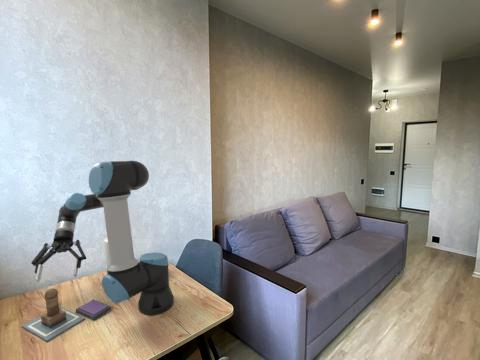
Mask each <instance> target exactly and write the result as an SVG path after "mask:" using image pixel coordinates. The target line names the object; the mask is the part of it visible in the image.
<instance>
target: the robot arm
mask: <svg viewBox="0 0 480 360" xmlns="http://www.w3.org/2000/svg"><path fill="white" fill-rule="evenodd" d="M149 178H150V173H149V170H148V168H147V167H146V166H145V164H143V163H142V162H140V161H137V160H120V161H119V160H117V161H103V162H98V163H95V164H93V166H92V167H91V169H90V170H89V173H88V187H89V189H90V191H91V193H92V194H85V195H84V194H83V193H79V192H73V193H71V194H69V196H68V197H67V198H66V200H65V202H64V203H62V204H61V205H60V207H59V210H58V217H57V222H56V227H55V231H54V237H53V242H52V243H48V242H46V243H44V244H43V247H42V249H41V250H40V251H39V252H38V253H37V255H36V256H35V257H34V258H33V260H32V261H31V262H30V264H31V265H32V266H33V267H35V269H34V274H36V275H35V281H36V282H37V283H40V282H41V277H42V273H43V268H44V266H43V264H45V263H46V262H47V261H48V260H49V259H50V258H52V257H53V256H54V255H56V254H60V253H67V251H68V252H69V253H70V254H71V255H72V256H73V257H74V258H75V260H74V268H73V272H72V273H73V277H77V276H78V270H79V269H81V266H82V261H83V260H87V256H86V254H85V252H84V250H83V248H82V247H81V241H80V240H79V239H76V240H75V241H74V236H75V230H76V229H75V228H76V222H77V218H78V216H79V214H80V213H81V212H85V211H90V210H95V209H102V208H103V214H104V221H105V222H104V223H105V229H106V238H108V246H109V254H110V262H111V263H110V265H109V266H108V267H107V275H106V274H105V275H104V276H103V277H102V279H101V286H102V289H103V292H104V293H105V295H106V298H108V300H110V301H111V302H112V303H114V304H120V303H122V302H124V301H128V300H130V299H131V298H133V297H134V296H136V295H139V294H140V296H139V299H138V301H137V302H138V303H137V304H138V305H137V306H138V311H139V312H140V314H142V315H146V316H152V315H153V316H154V315H155V316H156V315H160V314H163V313H165V312H167V311H168V310H169V309H171V308H172V307H173V305H174V303H175V299H174V298H175V297H174V294H173V292H172V290H171V287H170V280H169V278H170V277H169V276H170V275H169V273H170V272H169V258H168V255H166V254H164V253H162V252H148V253H144V254H141V255H140V256H139V260H138V259H137V258H135V252H134V245H133V236H132V235H133V234H132V227H131V219H130V212H129V204H128V202H129V201H128V198H130V196H131V195H132V193H131V192H132V191H137V190H139V189H141V188H142V187H144V186H145V185H147V183H148V181H149ZM73 246H75V247H77V250H78V251H79V254H80V255H81V256H80V255H79V254H78V253H77V252H76V251H75V250H73V249H72V247H73ZM51 247H52V248H51Z"/></svg>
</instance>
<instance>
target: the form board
mask: <svg viewBox="0 0 480 360" xmlns="http://www.w3.org/2000/svg"><path fill="white" fill-rule="evenodd" d="M59 308H60V309H62V310H64V311H66V320H64V321H62V322H61V323H59V324H57V325H55V326H53V327H52V328H49V327H47V326H45V325H43V324H42V321H41V315H39V316H38V317H36V318H34V319H32V320H30V321H28V322H26V323H24V324H22V325H21V327H22V328H23V329H24V330H25V331H28V332H30V333H32V334H33V335H35V336H37V337H38V338H40V339H41V340H43V341H44V342H47V343H48V342H49V341H51V340H53V339H55V338H57V337H58V336H60V335H61V334H64V333H65V332H66V331H68V330H70V329H72V328H73V327H75V326H76V325H78V324H80V323H82V322H83V321H85V320H86V317H85V316H82V315H80V314H78V313H76V312H73V311H71V310H69V309H66V308H64V307H63V306H59Z"/></svg>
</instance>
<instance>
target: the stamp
mask: <svg viewBox="0 0 480 360" xmlns="http://www.w3.org/2000/svg"><path fill="white" fill-rule="evenodd" d="M44 298H45V306H46V307H45V308H46V312H45V313H44V314H42V315H40V316H41V321H42V324H43V325H45V326H47V327H49V328H52V327H53V326H55V325H57V324H59V323H61V322H62V321H64V320H66V311H64V310H62V309H60V308H59V307H60V303H59V291H58V289H56V288H49V289H47V290H46V291H45V293H44Z"/></svg>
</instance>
